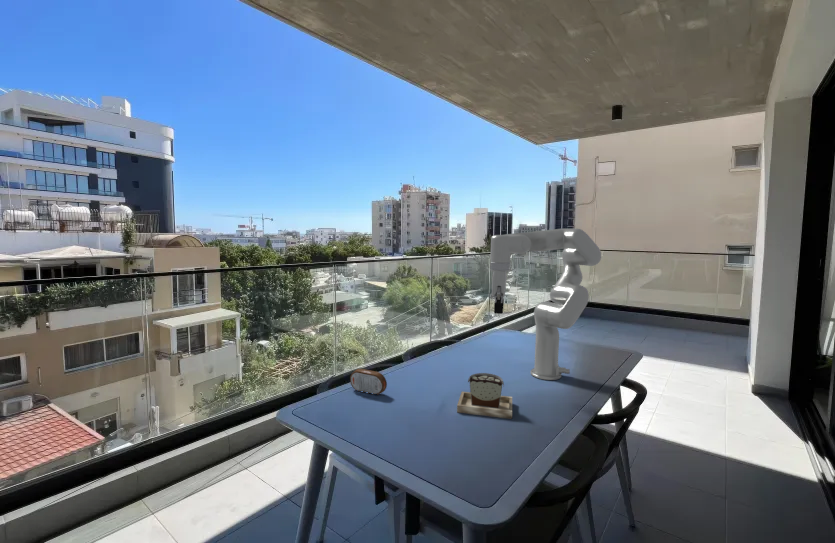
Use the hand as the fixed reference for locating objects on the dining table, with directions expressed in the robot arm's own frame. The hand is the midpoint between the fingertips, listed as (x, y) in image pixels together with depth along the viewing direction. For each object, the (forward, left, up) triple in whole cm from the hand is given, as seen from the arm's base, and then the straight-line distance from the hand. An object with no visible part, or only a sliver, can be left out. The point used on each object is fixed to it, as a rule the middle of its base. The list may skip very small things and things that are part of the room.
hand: (498, 310), depth 151 cm
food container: (+3, +19, -30) cm, 35 cm away
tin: (+47, +19, -31) cm, 59 cm away
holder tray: (+3, +21, -30) cm, 37 cm away
